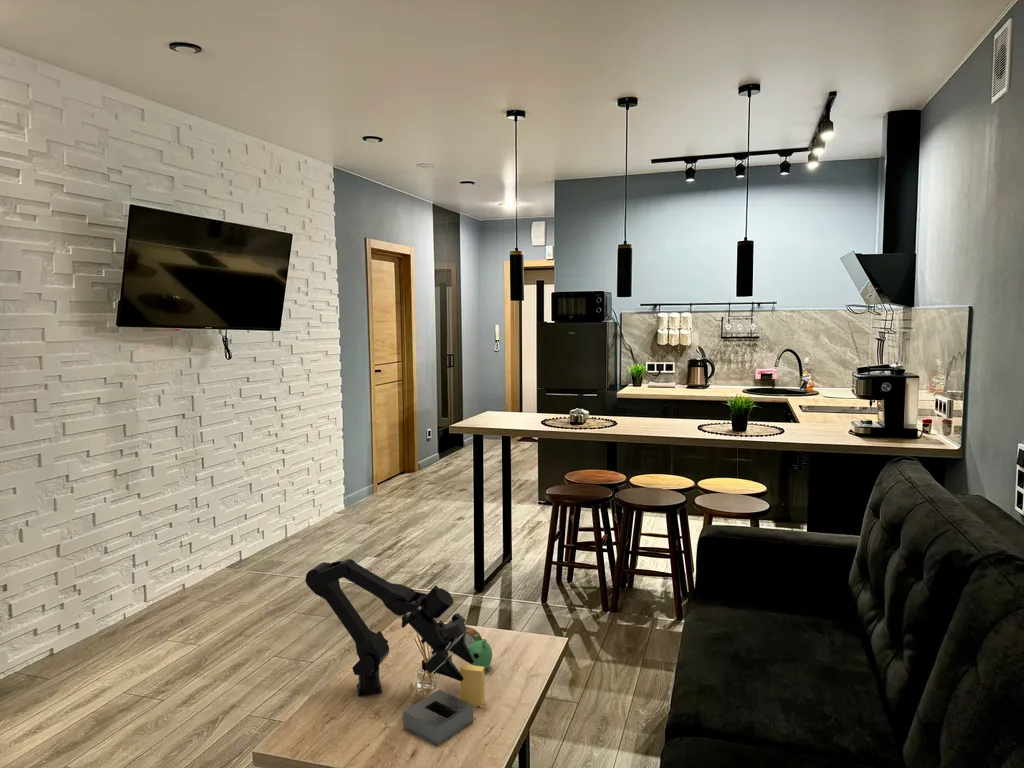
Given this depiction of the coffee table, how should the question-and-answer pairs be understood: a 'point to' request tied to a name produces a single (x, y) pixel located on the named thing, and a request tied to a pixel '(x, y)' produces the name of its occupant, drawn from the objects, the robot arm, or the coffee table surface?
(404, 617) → the robot arm
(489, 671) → the coffee table surface
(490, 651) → the alien toy
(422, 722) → the box
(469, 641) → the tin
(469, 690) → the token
